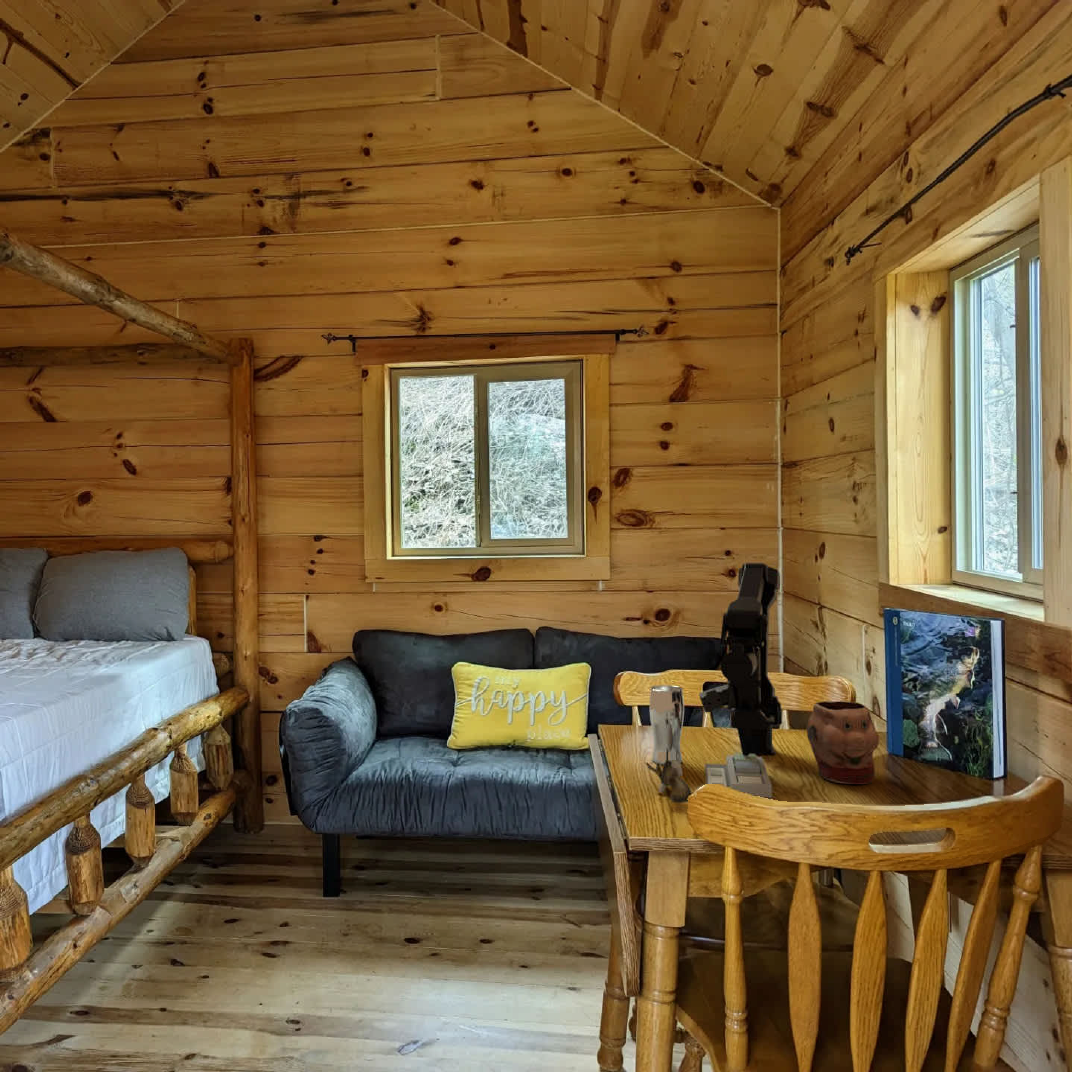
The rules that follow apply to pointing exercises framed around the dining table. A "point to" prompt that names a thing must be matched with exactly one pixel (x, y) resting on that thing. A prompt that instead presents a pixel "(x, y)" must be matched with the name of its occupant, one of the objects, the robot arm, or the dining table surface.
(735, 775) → the keypad
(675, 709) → the beer glass
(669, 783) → the eagle figurine
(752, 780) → the ivory key
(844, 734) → the decorative planter
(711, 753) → the dining table surface
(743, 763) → the slate key
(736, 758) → the sage key
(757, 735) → the robot arm
